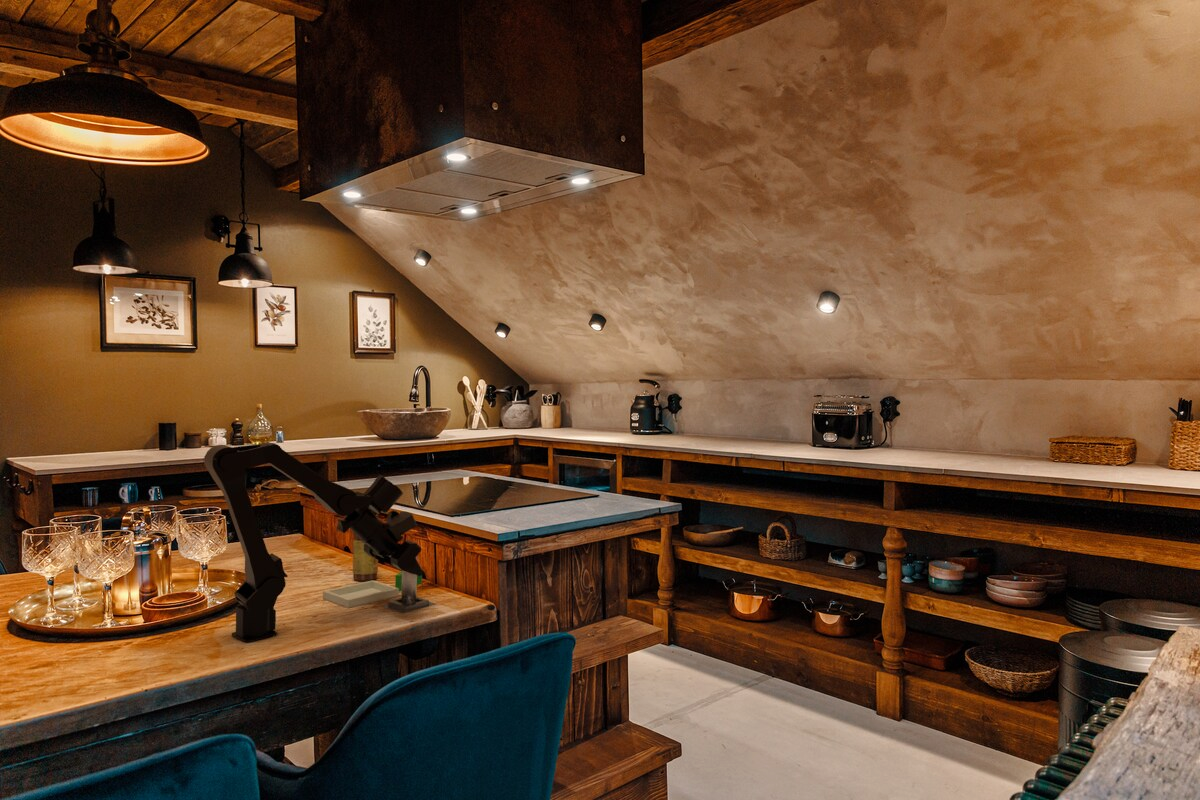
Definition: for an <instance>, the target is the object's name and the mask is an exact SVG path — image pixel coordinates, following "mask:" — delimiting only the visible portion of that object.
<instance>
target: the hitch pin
mask: <svg viewBox="0 0 1200 800" xmlns="http://www.w3.org/2000/svg"><path fill="white" fill-rule="evenodd" d="M416 543H417V544H418V545H419V546H420V543H418V542H416ZM420 547H421V546H420ZM418 555H419V554H418ZM418 555H417V557H416V560H417V561H418ZM401 572H402V589H401V591H400V592H401V595H400V598H401V603H402V604H405V605H408V604H412V603H416V597H418V595H417V592H418V591H417V589H418V584H417V575H415V574H412V573H408V572H405V571H402V570H401Z"/></svg>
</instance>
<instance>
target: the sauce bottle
mask: <svg viewBox="0 0 1200 800" xmlns="http://www.w3.org/2000/svg"><path fill="white" fill-rule="evenodd" d="M368 509H369V510H371V511H372V512H373V513H374V514H375V512H374V511H373V510H372V509H371V508H370V507H368ZM360 540H361V539H360V538H359V537H358V536H357V535H356V534H355V533H354V532H353V541H352V542H353V543H352V546H353V547H352V573H353V577H352V578H353V579H354V580H355V581H358V582H368V581H372V580H375V579H377V577H378V572H379V560H377V559H375V556H376V554H375V556H374V558H373V557H371V556H369V555H368V554H367V553H366V552H364V543H362V542H361V541H360Z"/></svg>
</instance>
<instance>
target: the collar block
mask: <svg viewBox="0 0 1200 800" xmlns="http://www.w3.org/2000/svg"><path fill="white" fill-rule="evenodd" d="M436 605H437V603H435V602H431V601H430V600H428V599H425V598H423V597H419V596H417V597H416V603H412V604H408V605H405V604H402V603H401V597H398V598H393V599H390V600H388V601H387V604H383V605H380V606H379V607H381V608H383V609H387V610H389V611H392V612H396V613H397V612H398V613H397V614H400V613H402V614H405V613H408V612H409V613H410V612H413V611H417V610H421V609H425V608H428V607H432V606H436Z"/></svg>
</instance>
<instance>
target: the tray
mask: <svg viewBox="0 0 1200 800" xmlns="http://www.w3.org/2000/svg"><path fill="white" fill-rule="evenodd" d="M399 593H400V592H399V588H396V587H395V586H392V585H388V584H386V583H383V582H380V581H376V580H375V579H373V580H370V581H362V582H359V583H355V584H349V585H345V586H340V587H336V588H332V589H331V588H330V589H326V590H323V591H322V600H324V601H327V602H329V603H333V604H335V605H338V606H341V607H343V608H346V609H351V608H352V609H353V608H355V607H361V606H364V605H367V604H372V603H377V602H381V601H384V600H389V599H392V598H393V599H394V598H397V597H399V595H400V594H399Z"/></svg>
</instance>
